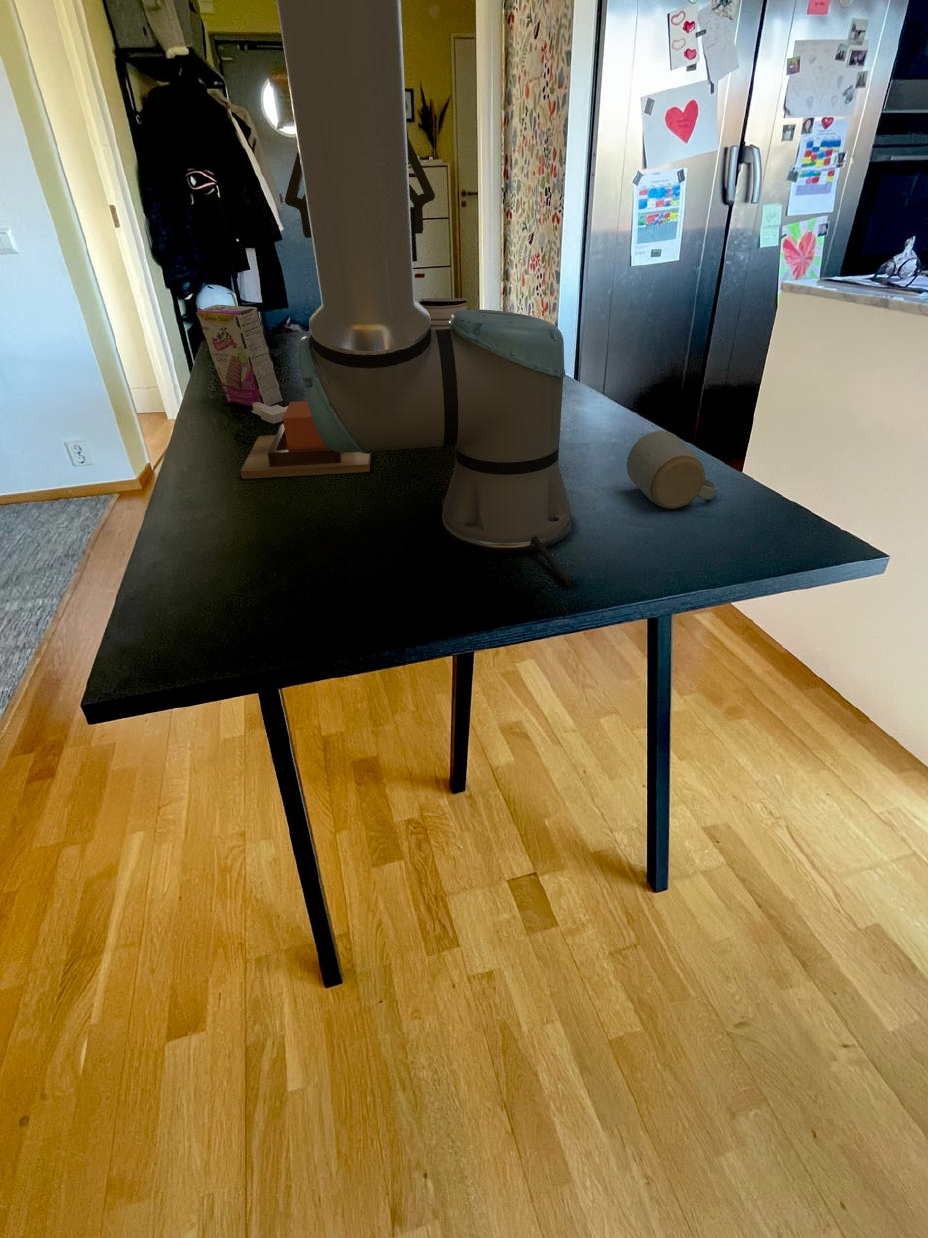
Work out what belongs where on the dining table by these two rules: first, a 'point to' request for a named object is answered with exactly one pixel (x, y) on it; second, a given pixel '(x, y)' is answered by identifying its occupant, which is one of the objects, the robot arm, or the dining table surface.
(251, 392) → the candy bar box
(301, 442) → the orange block
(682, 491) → the ceramic mug
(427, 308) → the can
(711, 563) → the dining table surface
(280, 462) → the wooden board with frame
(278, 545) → the dining table surface
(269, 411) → the corner connector
